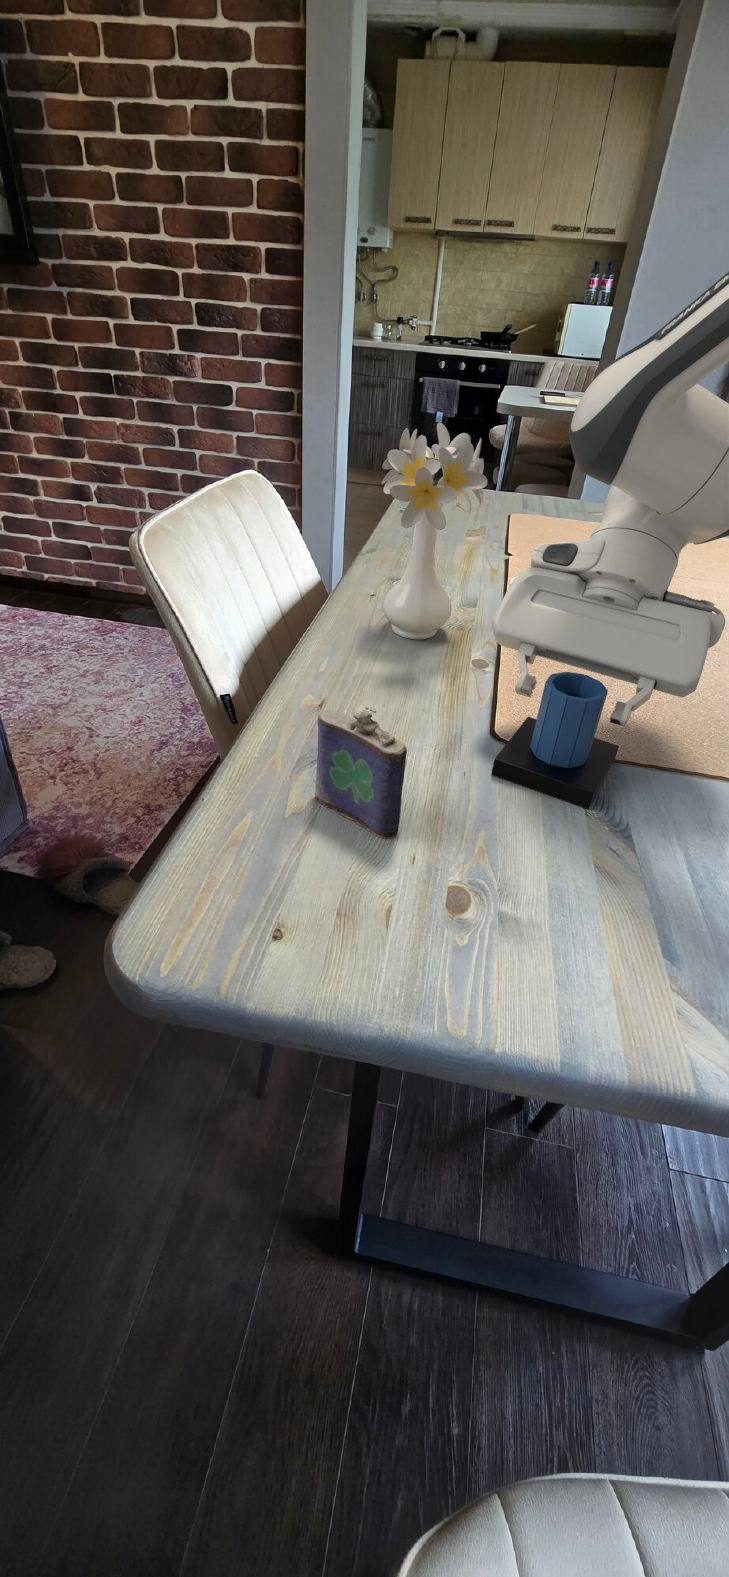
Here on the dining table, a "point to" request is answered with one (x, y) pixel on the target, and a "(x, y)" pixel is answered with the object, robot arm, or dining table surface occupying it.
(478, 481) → the flower vase
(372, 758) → the flask
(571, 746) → the sleeve
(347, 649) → the dining table surface
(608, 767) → the black base with post
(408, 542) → the dining table surface
